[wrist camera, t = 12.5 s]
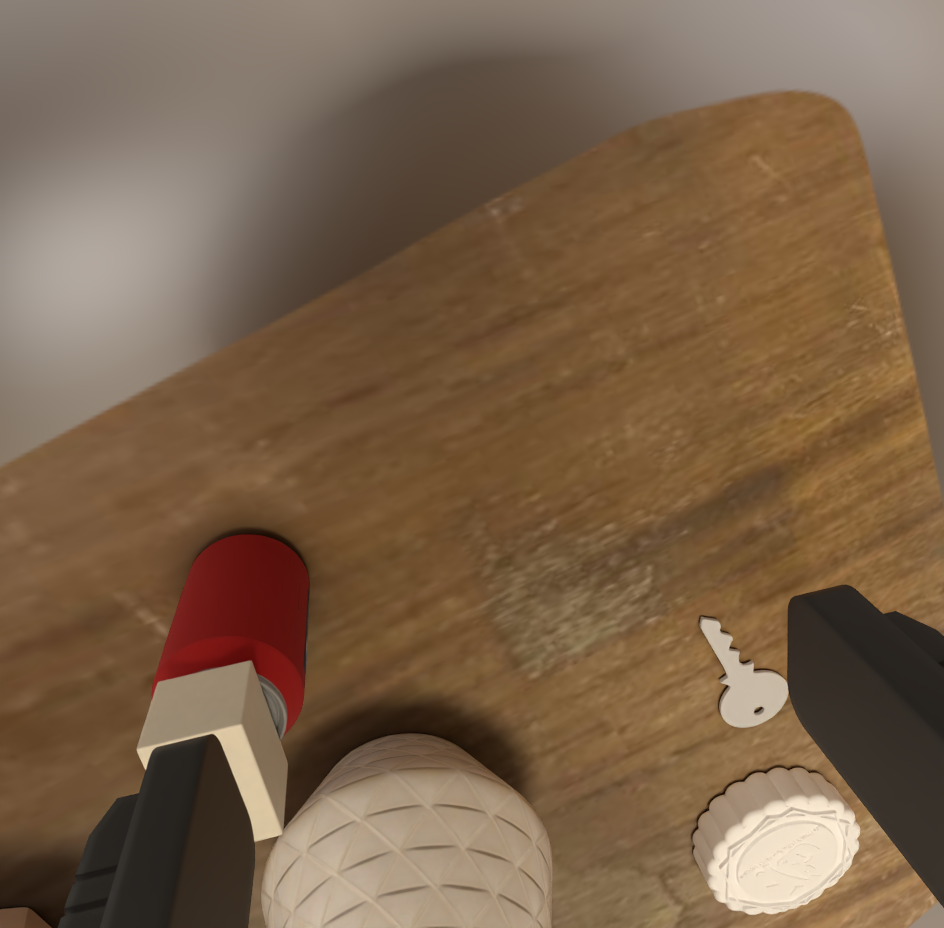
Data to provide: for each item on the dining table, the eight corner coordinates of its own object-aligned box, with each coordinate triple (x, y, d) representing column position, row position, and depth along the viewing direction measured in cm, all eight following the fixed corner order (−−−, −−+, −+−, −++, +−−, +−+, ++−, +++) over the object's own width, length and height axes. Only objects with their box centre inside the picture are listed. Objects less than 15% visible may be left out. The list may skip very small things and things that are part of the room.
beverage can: (232, 646, 47) (201, 804, 36) (164, 561, 44) (108, 705, 33) (332, 595, 47) (331, 739, 36) (270, 506, 44) (249, 633, 33)
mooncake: (733, 903, 64) (755, 945, 60) (662, 826, 59) (681, 867, 56) (861, 823, 62) (890, 862, 59) (799, 738, 57) (826, 774, 54)
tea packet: (156, 681, 33) (135, 749, 29) (251, 659, 33) (242, 724, 30) (200, 785, 36) (185, 860, 32) (288, 763, 36) (283, 835, 32)
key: (797, 703, 55) (735, 738, 56) (795, 700, 56) (733, 735, 56) (741, 596, 51) (674, 636, 51) (739, 594, 51) (672, 633, 52)
